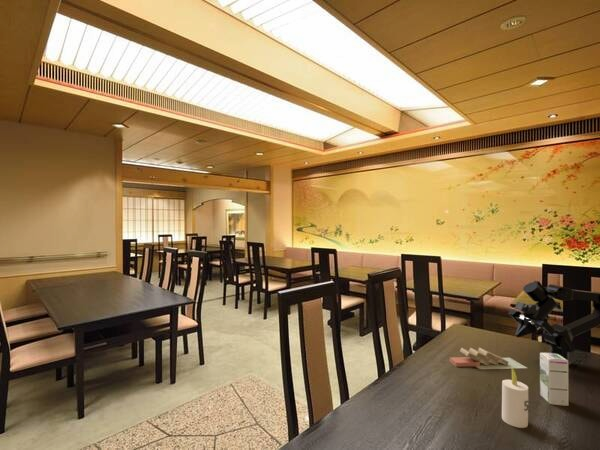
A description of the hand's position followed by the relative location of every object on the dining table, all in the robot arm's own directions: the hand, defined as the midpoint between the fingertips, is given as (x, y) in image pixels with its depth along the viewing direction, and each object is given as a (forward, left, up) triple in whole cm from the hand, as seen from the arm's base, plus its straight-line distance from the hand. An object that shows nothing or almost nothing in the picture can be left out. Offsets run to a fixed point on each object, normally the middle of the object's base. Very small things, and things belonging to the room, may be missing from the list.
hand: (516, 336), depth 132 cm
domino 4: (+5, -3, -10) cm, 12 cm away
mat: (+8, -5, -11) cm, 14 cm away
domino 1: (+14, -9, -10) cm, 20 cm away
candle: (+45, +15, -11) cm, 49 cm away
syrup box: (+22, +18, -11) cm, 31 cm away
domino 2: (+11, -7, -10) cm, 17 cm away
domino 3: (+8, -5, -10) cm, 14 cm away
